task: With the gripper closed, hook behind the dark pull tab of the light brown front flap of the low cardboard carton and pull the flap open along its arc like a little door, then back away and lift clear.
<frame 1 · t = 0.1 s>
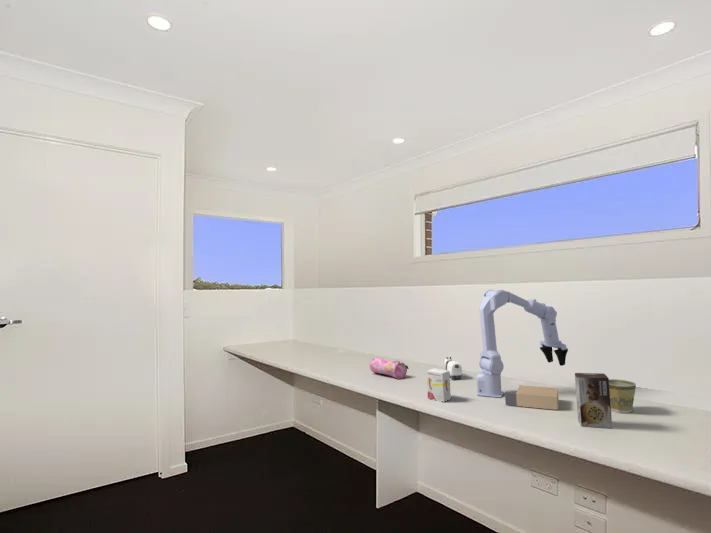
hand: (556, 363, 183), 11 cm above the table, tool pointing down, fingers open, 7 cm apart
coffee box: (594, 425, 137), on the table
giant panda: (452, 378, 208), on the table
pencil case: (388, 376, 217), on the table
carton: (538, 403, 161), on the table
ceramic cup: (623, 410, 150), on the table
carton flap: (530, 400, 156), point 3 cm above the table, hinge at 0.0°
ink box: (439, 399, 171), on the table
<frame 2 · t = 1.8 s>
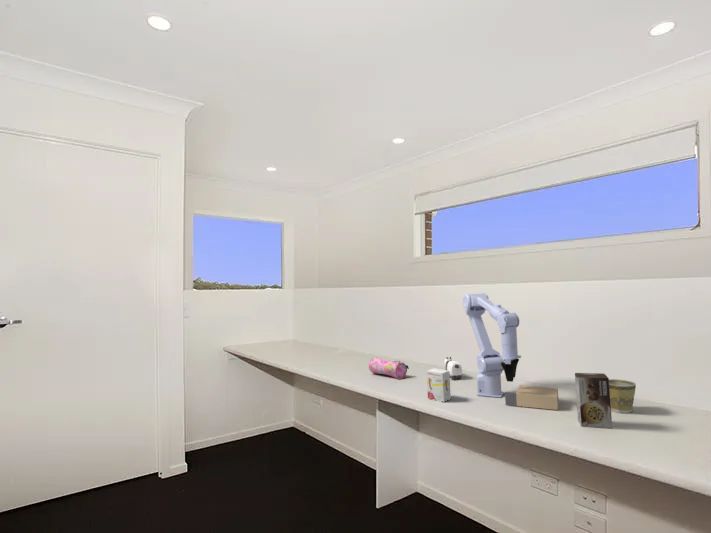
hand: (511, 379, 162), 9 cm above the table, tool pointing down, fingers open, 6 cm apart
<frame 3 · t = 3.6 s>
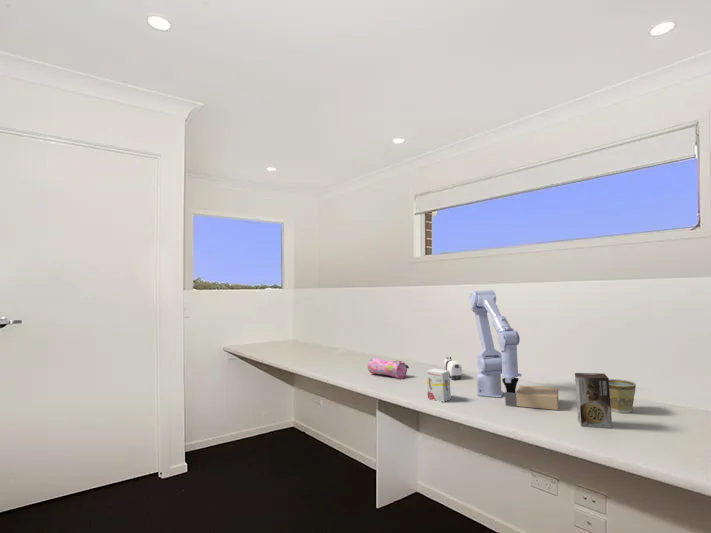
hand: (511, 397, 160), 3 cm above the table, tool pointing down, fingers closed
carton flap: (530, 400, 156), point 3 cm above the table, hinge at 0.6°, touching gripper
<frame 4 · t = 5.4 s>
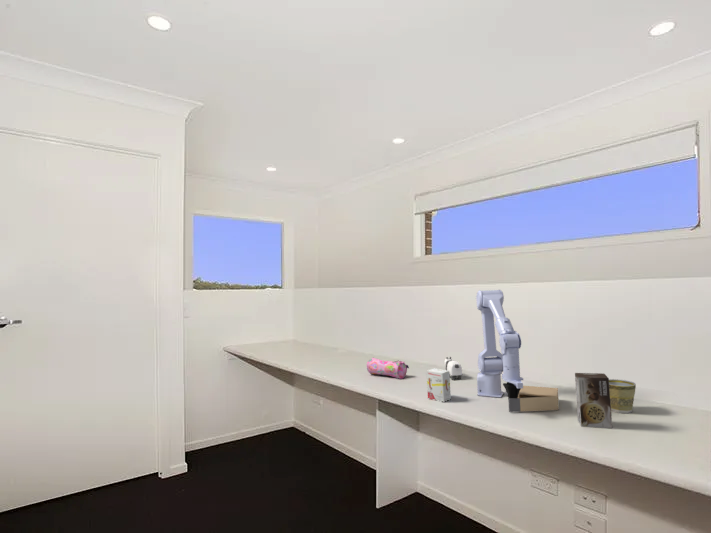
hand: (513, 403, 153), 3 cm above the table, tool pointing down, fingers closed
carton flap: (533, 404, 152), point 3 cm above the table, hinge at 28.3°, touching gripper
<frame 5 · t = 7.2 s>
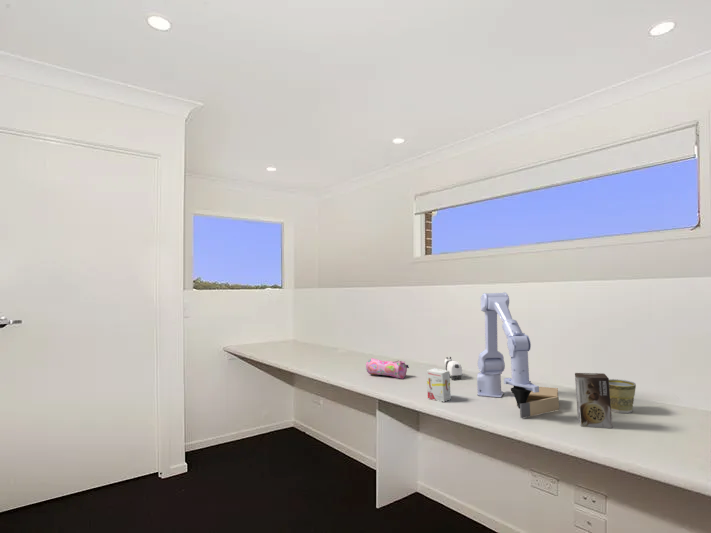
hand: (521, 408, 147), 3 cm above the table, tool pointing down, fingers closed
carton flap: (539, 406, 148), point 3 cm above the table, hinge at 50.5°, touching gripper
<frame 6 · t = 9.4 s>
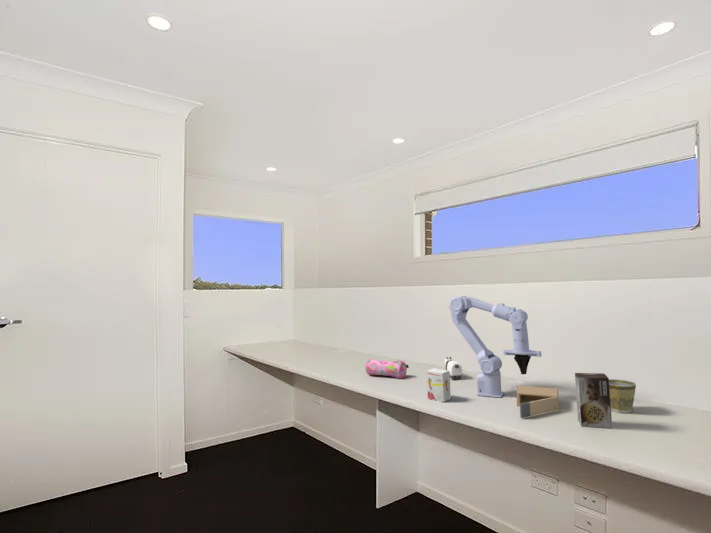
hand: (523, 373, 168), 10 cm above the table, tool pointing down, fingers closed
carton flap: (539, 406, 148), point 3 cm above the table, hinge at 50.6°
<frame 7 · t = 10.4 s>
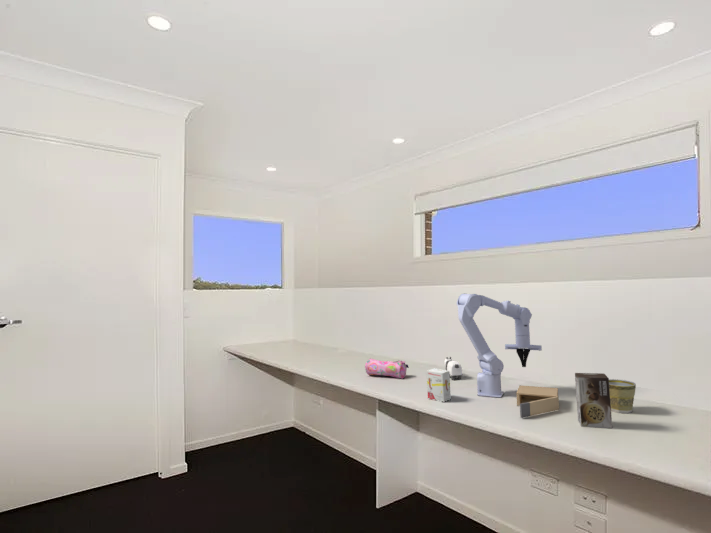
hand: (524, 366, 179), 10 cm above the table, tool pointing down, fingers closed
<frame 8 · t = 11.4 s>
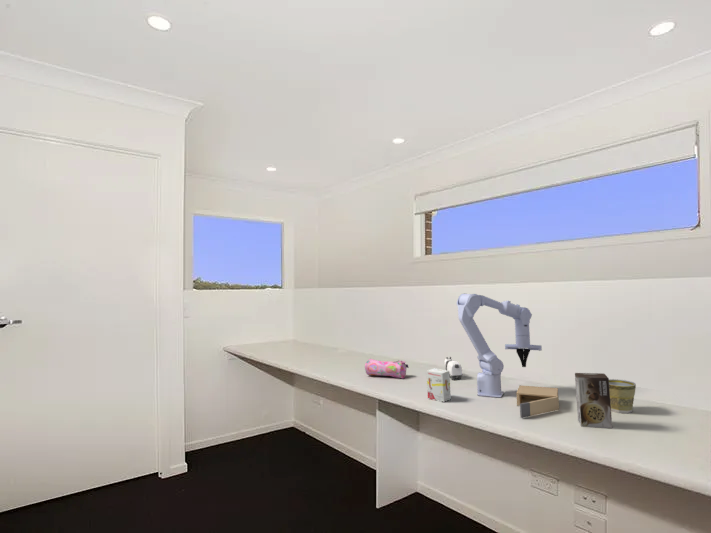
hand: (524, 366, 179), 10 cm above the table, tool pointing down, fingers closed
at the end: carton flap at +51° (first picture: +0°); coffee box moved 0.2 cm from its start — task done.
